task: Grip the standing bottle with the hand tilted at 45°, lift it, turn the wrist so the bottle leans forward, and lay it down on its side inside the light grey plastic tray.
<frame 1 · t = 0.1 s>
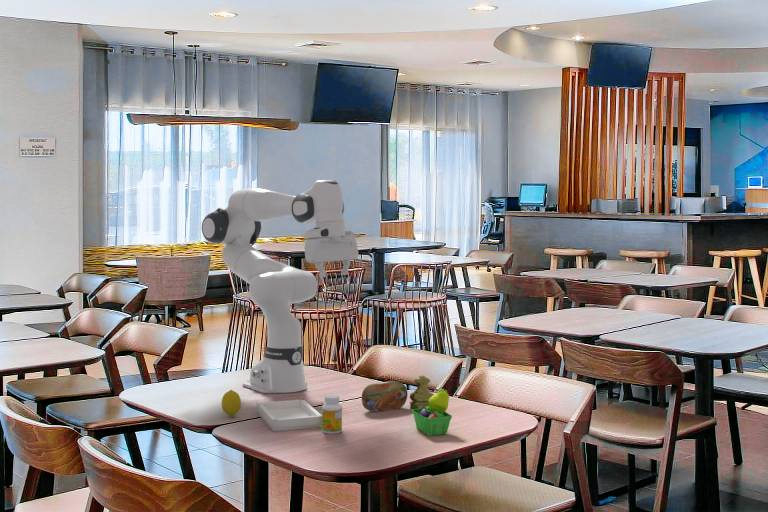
hand: (334, 275, 285), 39 cm above the table, tool pointing down, fingers open, 8 cm apart
fruit basket: (433, 431, 249), on the table
tin: (384, 410, 273), on the table
lemon: (231, 417, 265), on the table
tray: (289, 419, 262), on the table
olive brown figurine: (422, 410, 274), on the table
supplement bottle: (332, 432, 249), on the table
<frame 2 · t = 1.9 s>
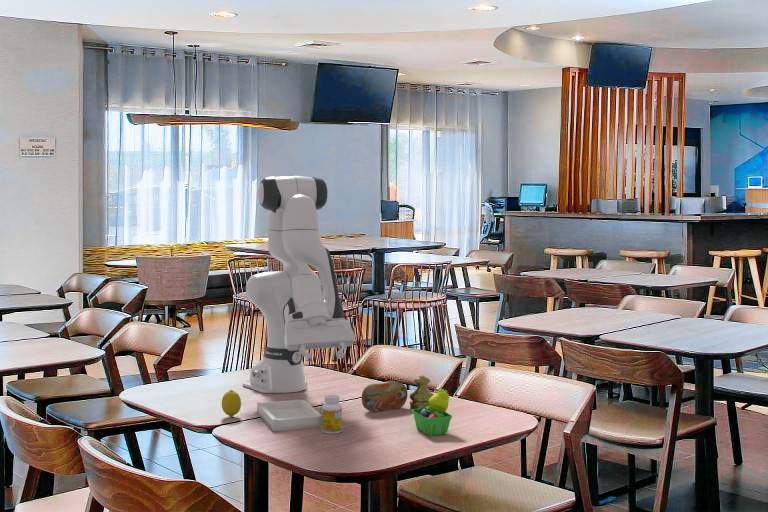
hand: (325, 358, 259), 18 cm above the table, tool tilted 45°, fingers open, 8 cm apart
nothing on the table moved.
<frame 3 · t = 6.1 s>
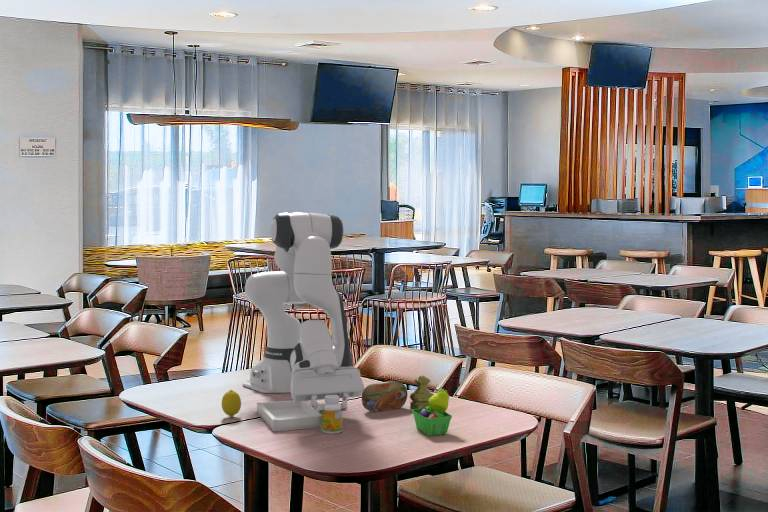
hand: (332, 410, 248), 6 cm above the table, tool tilted 45°, fingers closed on supplement bottle, 5 cm apart
supplement bottle: (332, 432, 249), on the table, touching gripper
everything else where it was.
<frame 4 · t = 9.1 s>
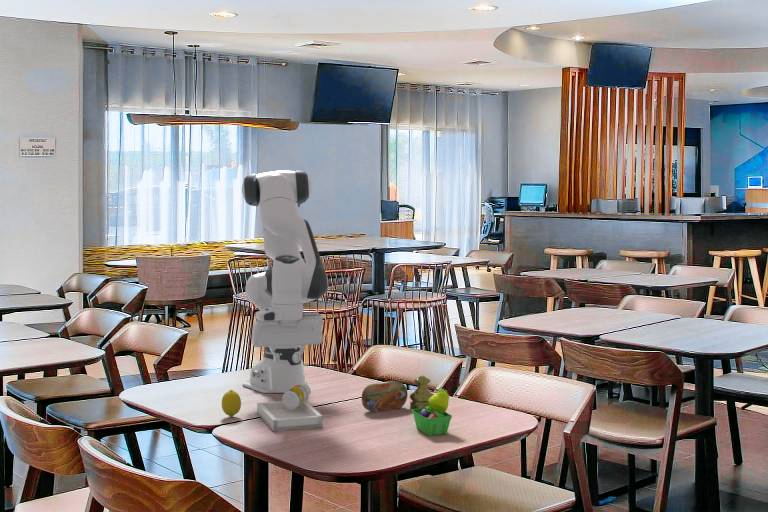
hand: (287, 361, 262), 17 cm above the table, tool pointing down, fingers open, 5 cm apart
supplement bottle: (289, 400, 264), point 5 cm above the table, touching tray
everything else where it was.
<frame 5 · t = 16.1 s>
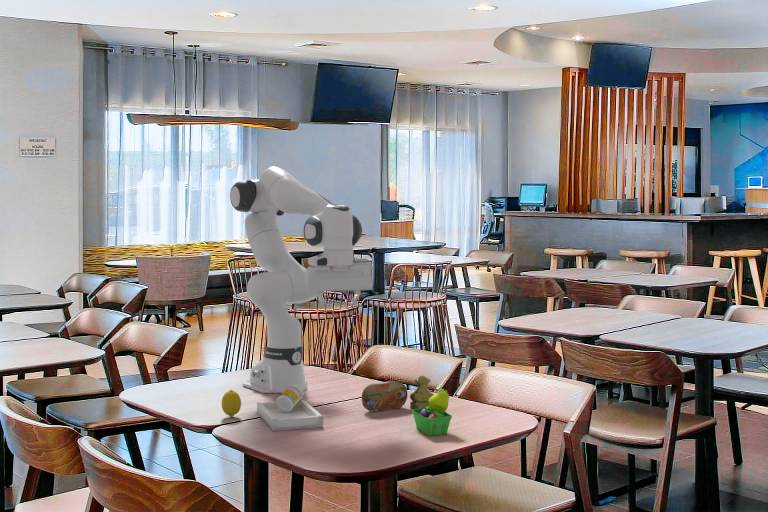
hand: (338, 305, 273), 31 cm above the table, tool pointing down, fingers open, 8 cm apart
supplement bottle: (283, 405, 264), point 4 cm above the table, touching tray
everything else where it was.
at the end: supplement bottle tilted 75°; supplement bottle 3.6 cm from the tray (horizontally); the gripper is holding nothing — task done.
